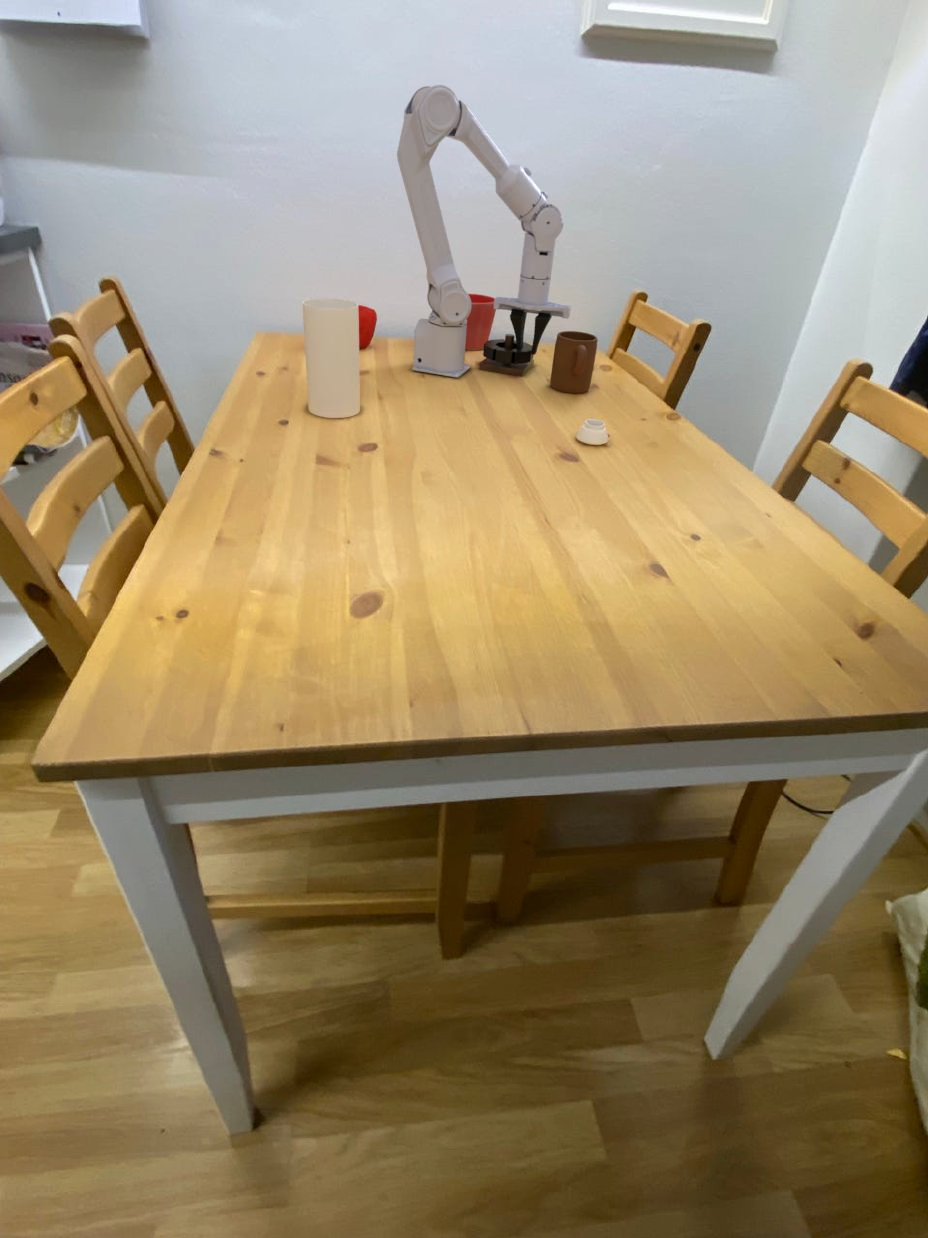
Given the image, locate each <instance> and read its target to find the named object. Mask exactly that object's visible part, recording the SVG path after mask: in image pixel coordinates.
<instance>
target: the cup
mask: <svg viewBox="0 0 928 1238" xmlns="http://www.w3.org/2000/svg"><path fill="white" fill-rule="evenodd" d="M358 305H359V303H358V302H357V301H354V300H351V299H346V298H337V297H312V298H307V299H304V300H303V301H302V320H303V336H304V352H305V353H304V354H305V370H306V371H305V372H306V387H307V405H308V406H307V407H308V411H309V413H311V414H312V415H314V416H317V417H321V418H326V419H327V418H328V419H344V418H350V417H354V416H356V415H358V414H359V413H360V412H361V382H360V381H361V380H360V378H361V377H360V373H361V372H360V348H359V307H358Z"/></svg>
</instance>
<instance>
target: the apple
mask: <svg viewBox="0 0 928 1238" xmlns="http://www.w3.org/2000/svg"><path fill="white" fill-rule="evenodd" d="M358 307H359V349H366V348H368V347H369V346H370V344H371V343H372V340H373V338H374V335H375V332H376V327H377V322H378V316H377V315H378V314H377V312H376V310H375V309H373V308H371V307H369V306H366V305H362V304H358Z"/></svg>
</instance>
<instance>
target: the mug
mask: <svg viewBox="0 0 928 1238" xmlns="http://www.w3.org/2000/svg"><path fill="white" fill-rule="evenodd" d="M598 341H599V340H598V337H597V336H596V335H594V334H592V333H588V332H584V331H577V330H566V331H560V332H559V331H558V333H557V335H556V340H555V344H554V350H553V358H552V365H551V373H550V382H549V383H550V387H551V388H553V389H554V390H556V391H558V392H562V393H567V394H583V393H586V392H588V391H589V389H590V388H591V383H592V378H593V372H594V368H595V362H596V361H595V360H596V356H597V351H598Z"/></svg>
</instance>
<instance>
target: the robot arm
mask: <svg viewBox="0 0 928 1238" xmlns="http://www.w3.org/2000/svg"><path fill="white" fill-rule="evenodd" d="M445 138H449V139H452V140H455V141H458V142H460V143H462V144H463V145H464V146H465V147H466V148H467V149H468V150H469V152H471V153H472V155H473V156H474V157H475V158H476V160H478V162H479V163H480V164H481V165H482V166H483V168H485V170H487V172H488V173H489V174H490V175H491V177H493V178H494V182H495V193H496V195H497V196H498V197H499V198H500V199H501V200H502V202H503V203H504V205H506V207H507V208H508V209H509V210H510V212H511V213H512V214H513V215H514V216H515V217H516V219H517V220H518V221H519V222H520V227H521V230H522V231H523V232H524V239H523V248H522V256H521V264H520V265H521V266H520V275H519V282H518V283H519V284H518V293H517V297H503V296H496V297H493V298H494V309H496V311H497V310H504V311H510V314H509V319H510V322H511V325H512V328H513V331H514V336H515V340H516V343H517V349H521V348H522V347H523V342H524V334H525V327H526V322H527V321H526V320H527V315H528V314H535V315H536V316H535V318H534V331H533V340H532V344H531V345H532V354H533V356H534V355H536V354H537V351H538V347H539V344H540V341H541V339H542V336H543V334H544V332H545V330H546V329H547V326H548V324H549V322H550V321H551V319H552V317H559V318H562V319H567V320H568V319H569V318H570V315H571V309H572V305H566V304H562V303H561V304H560V303H556V302H550V301H549V294H550V286H551V278H552V271H553V265H554V256H555V246H556V240H557V238H558V237H559V236H560V234H561V233H562V231H563V228H564V222H563V219H562V214H561V211H560V209H559V208H558V207H557V206H556V205H554V204H551V203H548V198H549V195H548V193H547V192H546V191H541V189H540V187H538V185H537V183H535V182H534V180H533V179H532V178H531V176H532V171H531V170H530V169H529V167H523V166H522V165H521V164H518V163H515V164H510V163H509V161H508V160H507V159H506V157H505V156H504V155H503V153H502V152H501V150H500V149H499V147H498V146H497V145H496V144H495V142H494V141H493V139H492V138H491V137H490V135H489V134H488V132H487V131H486V129H485V128H484V127H483V126H482V124H481V123H480V122H479V120H478V119H477V118H476V116H475V115H474V113H473V112H472V110H471V109H470V108H469V107H468V105H467V104H465V102H463V101H462V100H461V99H458V96H457V94H456V93H455V91H453V89H451V88H450V87H448V86H446V85H444V84H436V85H435V84H434V85H431V86H429V85H428V86H427V85H426V86H422V87H420V88H418V89H417V90H416V91H415V92H414V93H413V94H412V96H411V98H410V100H409V101H408V103H407V105H406V106H405V108H404V110H403V122H402V127H401V132H400V136H399V140H398V141H399V142H398V147H397V150H396V158H397V163H398V167H399V171H400V174H401V178H402V181H403V185H404V190H405V193H406V196H407V200H408V204H409V207H410V211H411V215H412V219H413V223H414V226H415V231H416V234H417V238H418V241H419V245H420V248H421V252H422V256H423V260H424V263H425V267H426V280H427V285H428V287H427V296H426V297H427V300H426V301H427V303H428V306H429V307H430V309H431V312H430V314H429V316H428V318H419V319H418V321H417V323H416V325H415V329H414V335H413V337H414V338H413V366H412V367H411V370H412V371H416V372H419V373H420V372H421V373H425V374H426V373H428V374H433V375H439V376H443V377H444V376H445V377H449V378H456V379H457V378H460V377H461V376H463V374H465V373H466V372H467V371H468V370H470V369H471V365H469V364H465V358H466V357H465V356H466V355H465V354H466V349H465V343H466V328H467V320H466V319H467V318H468V316H469V314H470V312H471V306H472V305H471V299H470V296H469V295H468V294H469V293H468V292H467V291H466V290H465V288H464V287H463V284H462V280H461V276H460V275H459V272H458V270H457V267H456V265H455V262H454V258H453V254H452V251H451V245H450V243H449V239H448V238H449V237H448V234H447V230H446V226H445V222H444V218H443V214H442V210H441V205H440V202H439V198H438V193H437V189H436V186H435V182H434V181H435V180H434V177H433V173H432V169H431V165H430V162H431V160H432V159H433V156H434V154H435V152H436V150H437V148H438V147H439V145H440V143H441V142H442V141H443V140H444V139H445Z"/></svg>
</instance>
